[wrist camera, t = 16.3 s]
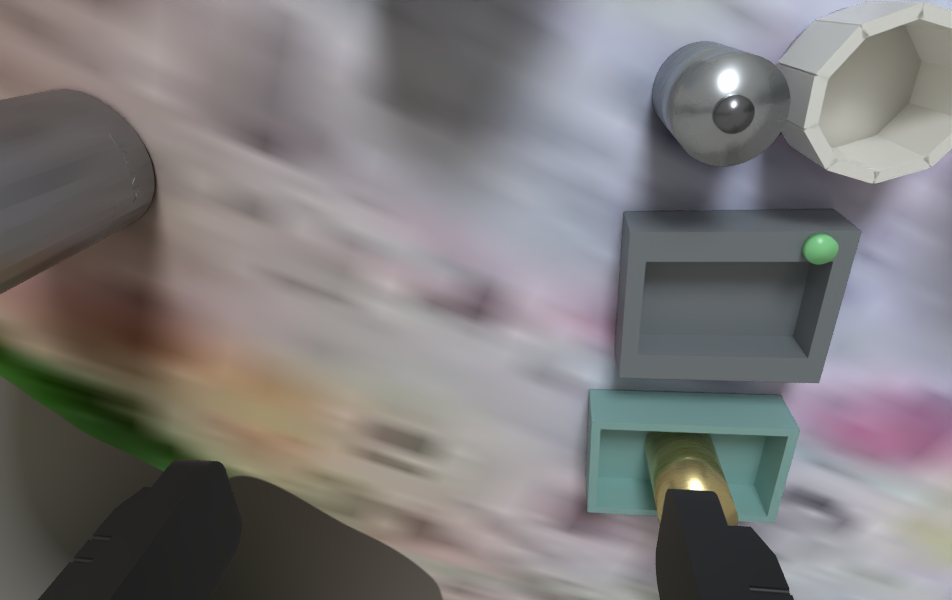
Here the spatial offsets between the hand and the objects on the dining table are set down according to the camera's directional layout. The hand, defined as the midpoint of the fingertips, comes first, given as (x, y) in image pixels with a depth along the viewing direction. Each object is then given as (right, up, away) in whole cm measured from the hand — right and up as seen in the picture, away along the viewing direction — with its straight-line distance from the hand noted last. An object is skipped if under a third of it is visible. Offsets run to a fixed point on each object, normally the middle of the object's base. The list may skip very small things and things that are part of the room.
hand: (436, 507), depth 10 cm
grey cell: (+13, +15, +21) cm, 29 cm away
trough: (+16, -7, +32) cm, 37 cm away
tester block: (+16, +5, +26) cm, 31 cm away
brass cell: (+16, -7, +32) cm, 36 cm away
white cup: (+20, +15, +20) cm, 32 cm away
